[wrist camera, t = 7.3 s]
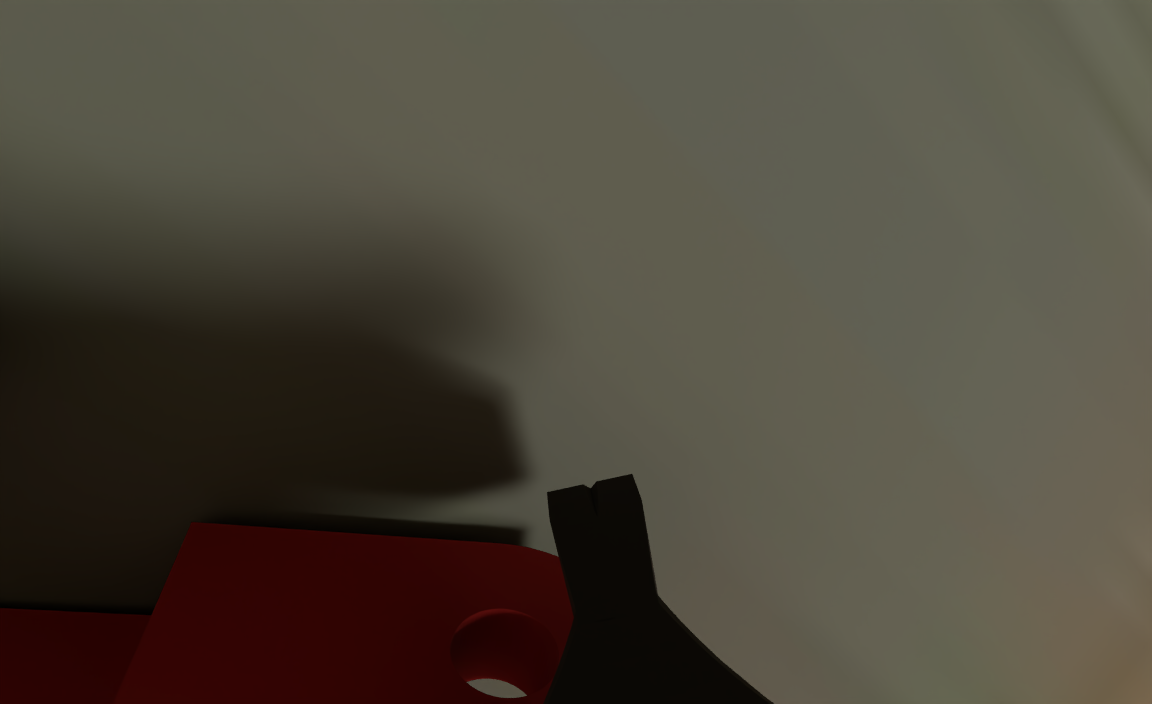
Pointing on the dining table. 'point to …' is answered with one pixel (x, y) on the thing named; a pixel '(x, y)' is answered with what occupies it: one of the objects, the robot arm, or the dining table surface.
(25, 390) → the dining table surface
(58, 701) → the mechanical linkage
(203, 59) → the dining table surface
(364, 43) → the dining table surface
